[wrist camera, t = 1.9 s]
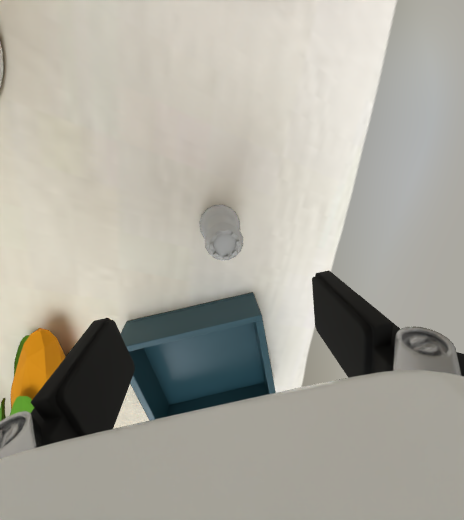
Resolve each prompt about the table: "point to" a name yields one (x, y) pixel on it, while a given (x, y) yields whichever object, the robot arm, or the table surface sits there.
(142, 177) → the table surface
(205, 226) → the rook chess piece
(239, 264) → the table surface
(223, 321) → the bin
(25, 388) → the corn
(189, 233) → the table surface
